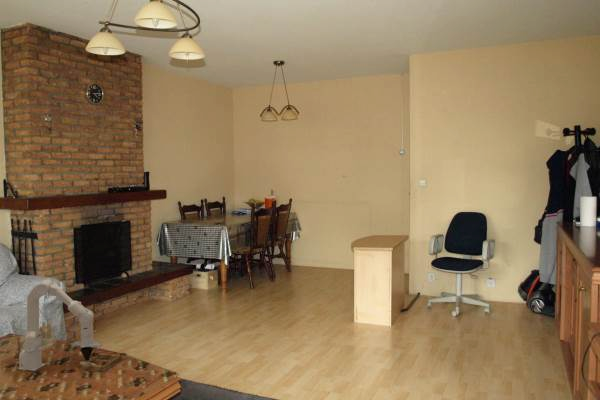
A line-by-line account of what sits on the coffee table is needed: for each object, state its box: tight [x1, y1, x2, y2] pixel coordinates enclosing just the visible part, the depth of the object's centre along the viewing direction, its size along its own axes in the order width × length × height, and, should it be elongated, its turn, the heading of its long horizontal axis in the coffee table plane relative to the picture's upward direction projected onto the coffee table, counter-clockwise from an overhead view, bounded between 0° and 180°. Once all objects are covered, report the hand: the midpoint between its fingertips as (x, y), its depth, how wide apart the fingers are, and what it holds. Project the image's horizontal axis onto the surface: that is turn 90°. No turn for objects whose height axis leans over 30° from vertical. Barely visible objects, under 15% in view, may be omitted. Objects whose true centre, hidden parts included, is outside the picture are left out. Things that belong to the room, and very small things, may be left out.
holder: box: [78, 352, 123, 373], centre depth 238 cm, size 14×15×2 cm
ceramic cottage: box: [19, 321, 57, 352], centre depth 263 cm, size 16×16×15 cm
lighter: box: [79, 360, 98, 366], centre depth 235 cm, size 7×2×8 cm
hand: (87, 361), depth 240 cm, fingers closed, pressing on lighter
